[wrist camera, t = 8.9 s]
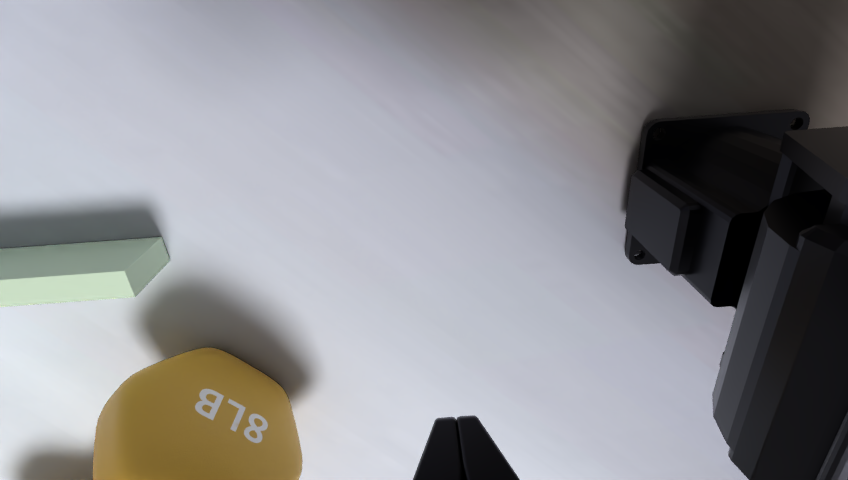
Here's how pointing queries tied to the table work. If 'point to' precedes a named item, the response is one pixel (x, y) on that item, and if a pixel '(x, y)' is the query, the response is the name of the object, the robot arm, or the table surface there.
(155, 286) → the table surface
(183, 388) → the dumbbell
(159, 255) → the green pocket
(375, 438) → the table surface
